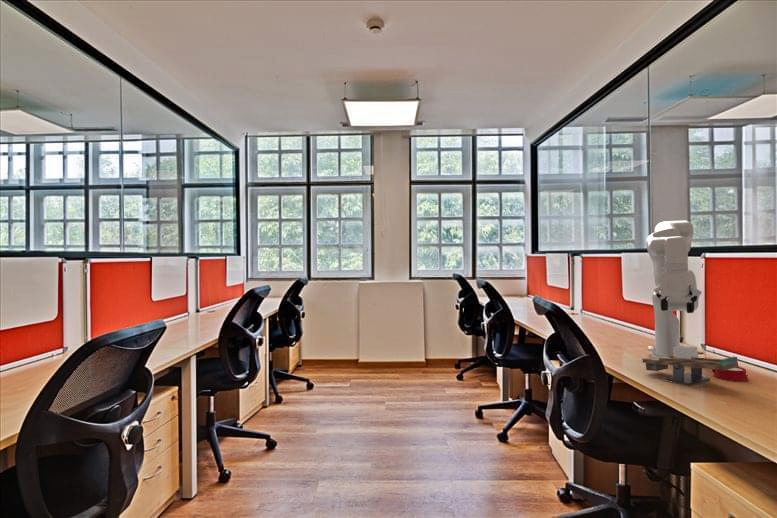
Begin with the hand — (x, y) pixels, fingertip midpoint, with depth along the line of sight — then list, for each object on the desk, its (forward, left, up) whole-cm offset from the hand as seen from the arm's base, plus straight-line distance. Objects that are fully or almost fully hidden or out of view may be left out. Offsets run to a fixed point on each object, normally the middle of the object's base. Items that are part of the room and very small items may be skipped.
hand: (677, 311), depth 165 cm
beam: (+6, -4, -22) cm, 23 cm away
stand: (+5, -4, -25) cm, 26 cm away
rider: (+5, -4, -18) cm, 19 cm away
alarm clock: (+10, +16, -26) cm, 32 cm away
